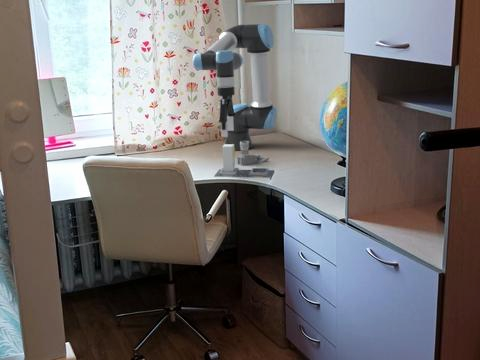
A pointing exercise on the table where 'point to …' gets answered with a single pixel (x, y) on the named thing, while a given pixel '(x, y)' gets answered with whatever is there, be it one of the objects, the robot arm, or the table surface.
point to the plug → (228, 158)
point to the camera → (248, 155)
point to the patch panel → (247, 173)
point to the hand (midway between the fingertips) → (227, 133)
